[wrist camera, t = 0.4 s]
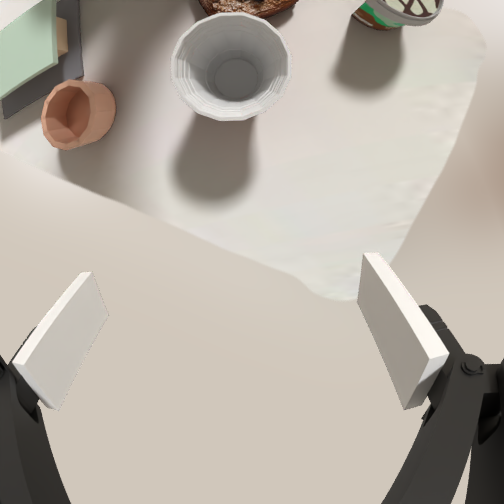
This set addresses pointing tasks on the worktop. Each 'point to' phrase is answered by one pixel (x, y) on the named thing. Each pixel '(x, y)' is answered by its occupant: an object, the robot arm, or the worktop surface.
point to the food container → (397, 13)
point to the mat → (59, 73)
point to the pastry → (247, 6)
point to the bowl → (77, 113)
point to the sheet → (28, 46)
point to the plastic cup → (231, 66)
